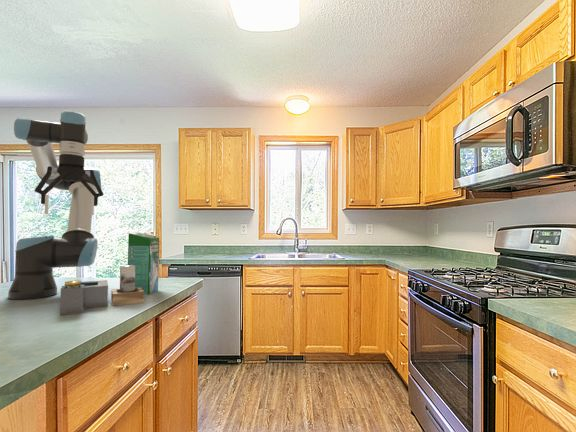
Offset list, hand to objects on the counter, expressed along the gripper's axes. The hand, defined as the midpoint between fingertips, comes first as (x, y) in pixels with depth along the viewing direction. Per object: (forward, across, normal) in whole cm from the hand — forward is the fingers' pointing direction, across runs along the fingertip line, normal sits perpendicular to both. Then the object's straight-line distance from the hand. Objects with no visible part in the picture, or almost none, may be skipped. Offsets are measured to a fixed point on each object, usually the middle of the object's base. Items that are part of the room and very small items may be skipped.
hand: (70, 214), depth 115 cm
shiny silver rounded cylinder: (+30, +19, -6) cm, 36 cm away
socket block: (+32, +6, -7) cm, 33 cm away
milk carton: (+32, +26, +8) cm, 42 cm away
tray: (+32, +19, -6) cm, 37 cm away
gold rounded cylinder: (+29, +2, -14) cm, 32 cm away
